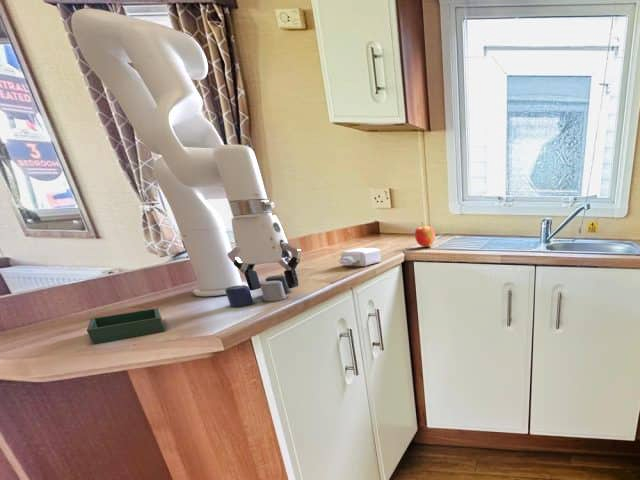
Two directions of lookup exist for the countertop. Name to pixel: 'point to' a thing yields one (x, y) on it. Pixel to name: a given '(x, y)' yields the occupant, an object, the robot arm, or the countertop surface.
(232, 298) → the navy cap
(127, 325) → the tray
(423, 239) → the apple
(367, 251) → the charger
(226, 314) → the countertop surface
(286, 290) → the black cap
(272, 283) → the grey cap
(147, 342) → the countertop surface
